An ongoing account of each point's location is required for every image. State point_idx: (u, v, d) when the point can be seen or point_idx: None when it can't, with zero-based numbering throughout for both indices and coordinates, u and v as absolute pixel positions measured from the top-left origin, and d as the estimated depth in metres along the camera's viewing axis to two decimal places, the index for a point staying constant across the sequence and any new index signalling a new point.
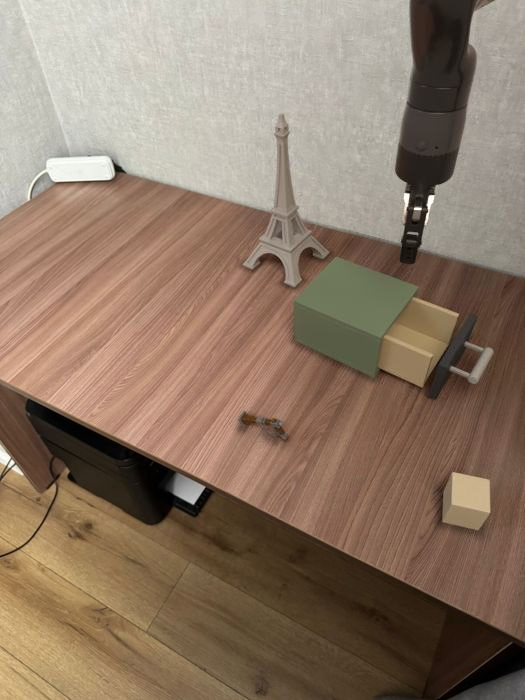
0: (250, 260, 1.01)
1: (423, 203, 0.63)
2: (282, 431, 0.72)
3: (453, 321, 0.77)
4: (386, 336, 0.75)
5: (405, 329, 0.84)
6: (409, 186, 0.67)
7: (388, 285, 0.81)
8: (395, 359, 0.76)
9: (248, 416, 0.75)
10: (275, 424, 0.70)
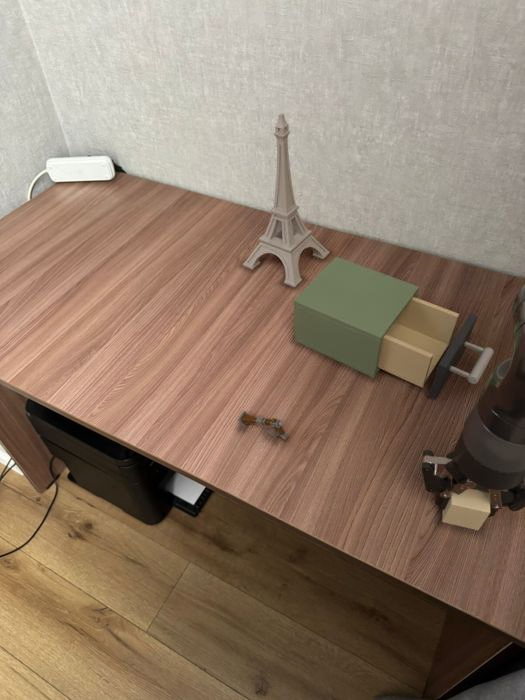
0: (250, 260, 1.01)
1: (445, 467, 0.57)
2: (282, 431, 0.72)
3: (453, 321, 0.77)
4: (386, 336, 0.75)
5: (405, 329, 0.84)
6: None
7: (388, 285, 0.81)
8: (395, 359, 0.76)
9: (248, 416, 0.75)
10: (275, 424, 0.70)
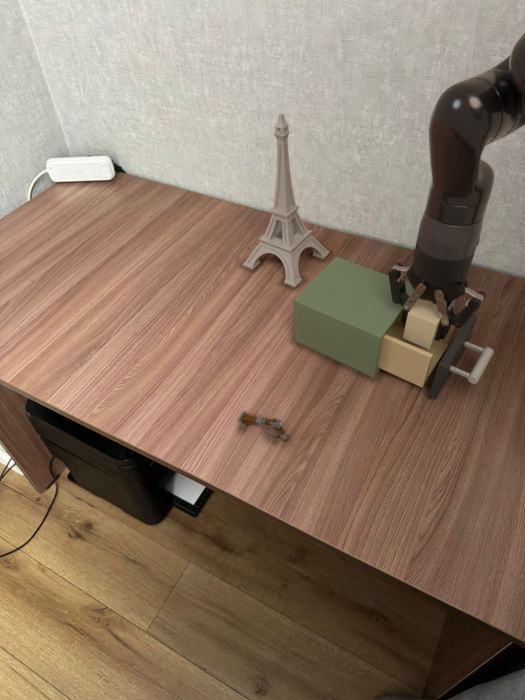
0: (250, 260, 1.01)
1: (406, 274, 0.70)
2: (282, 431, 0.72)
3: None
4: (386, 336, 0.75)
5: None
6: None
7: (388, 285, 0.81)
8: (395, 359, 0.76)
9: (248, 416, 0.75)
10: (275, 424, 0.70)
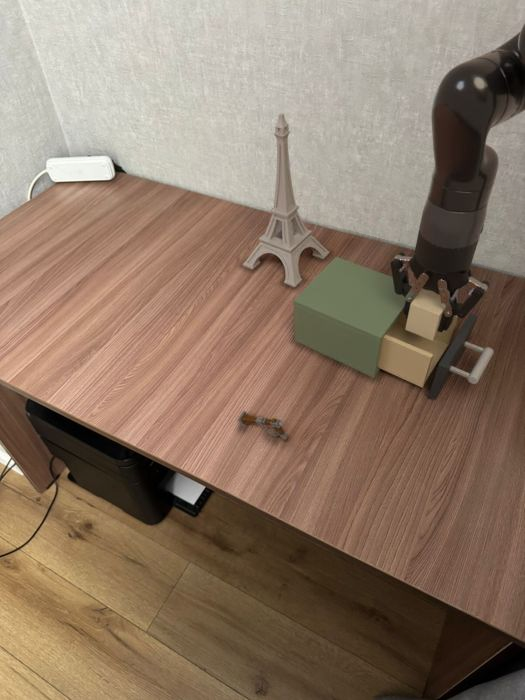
0: (250, 260, 1.01)
1: (409, 264, 0.69)
2: (282, 431, 0.72)
3: (453, 321, 0.77)
4: (386, 336, 0.75)
5: None
6: None
7: (388, 285, 0.81)
8: (395, 359, 0.76)
9: (248, 416, 0.75)
10: (275, 424, 0.71)
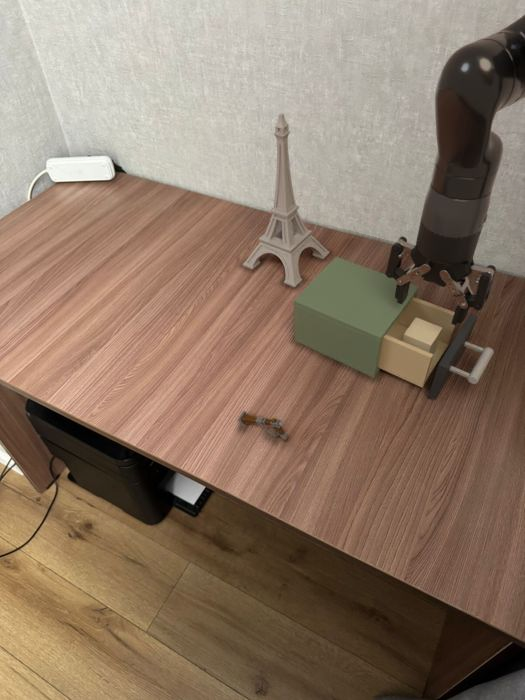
0: (250, 260, 1.01)
1: (410, 252, 0.67)
2: (282, 431, 0.72)
3: None
4: (386, 336, 0.75)
5: (405, 329, 0.84)
6: None
7: (388, 285, 0.81)
8: (395, 359, 0.76)
9: (248, 416, 0.75)
10: (275, 424, 0.70)
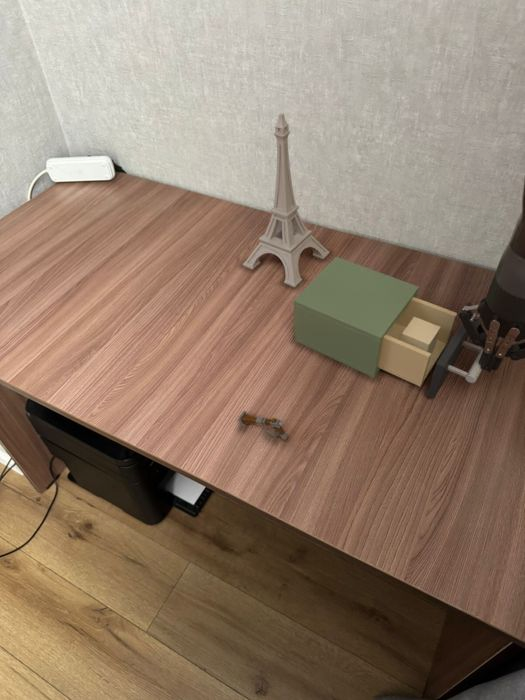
0: (250, 260, 1.01)
1: (478, 312, 0.67)
2: (282, 431, 0.72)
3: (451, 321, 0.78)
4: None
5: (404, 328, 0.84)
6: None
7: (388, 285, 0.81)
8: (393, 358, 0.76)
9: (248, 416, 0.75)
10: (275, 424, 0.70)
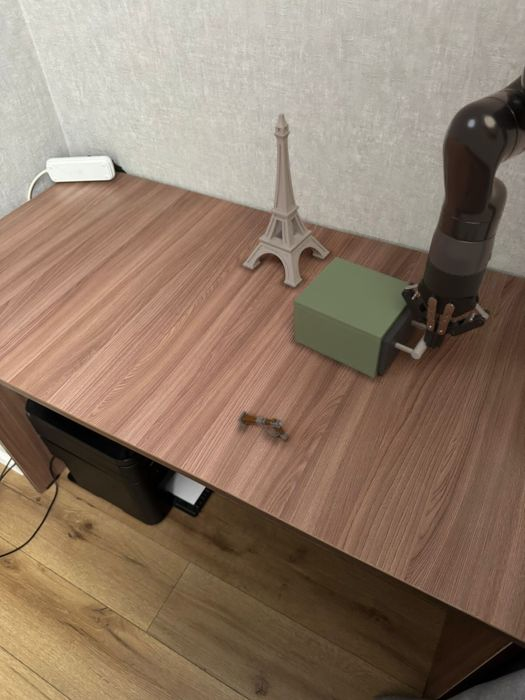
0: (250, 260, 1.01)
1: None
2: (282, 431, 0.72)
3: None
4: None
5: None
6: None
7: (388, 285, 0.81)
8: None
9: (248, 416, 0.75)
10: (275, 424, 0.70)
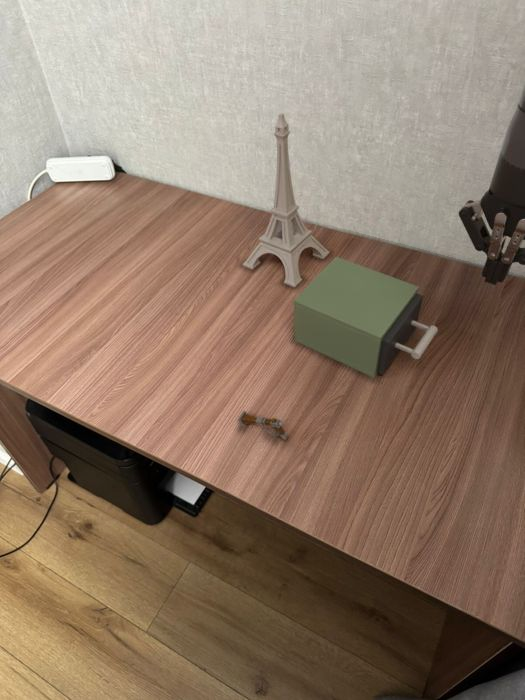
0: (250, 260, 1.01)
1: (481, 206, 0.57)
2: (282, 431, 0.72)
3: None
4: None
5: None
6: None
7: (388, 285, 0.81)
8: None
9: (248, 416, 0.75)
10: (275, 424, 0.70)
